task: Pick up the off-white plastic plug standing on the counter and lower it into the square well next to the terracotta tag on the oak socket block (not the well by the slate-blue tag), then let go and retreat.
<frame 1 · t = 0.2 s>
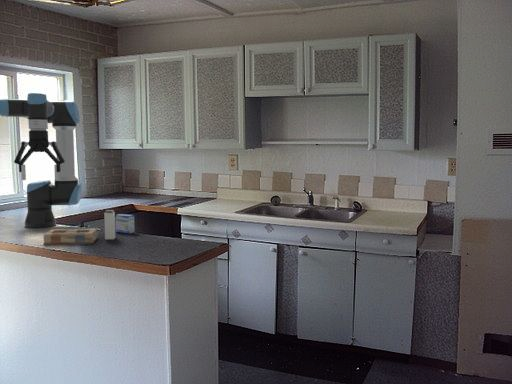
hand: (40, 180, 226), 28 cm above the table, fingers open, 13 cm apart
medicine box: (125, 232, 257), on the table
plug: (110, 238, 241), on the table
socket block: (71, 241, 234), on the table
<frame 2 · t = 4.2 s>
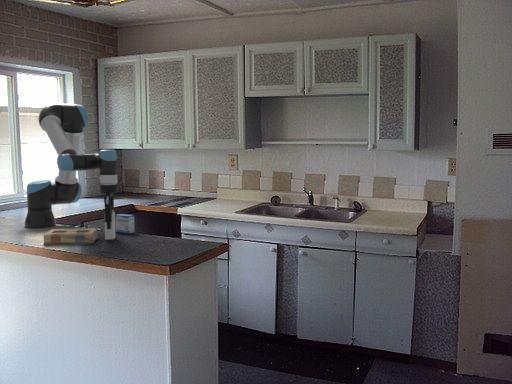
hand: (110, 234, 241), 2 cm above the table, fingers closed on plug, 4 cm apart
plug: (110, 238, 241), on the table, touching gripper
everything else where it was.
when the fingers open (5 cm above the table, at t = 9.4 s): plug drops 3 cm, resting on socket block.
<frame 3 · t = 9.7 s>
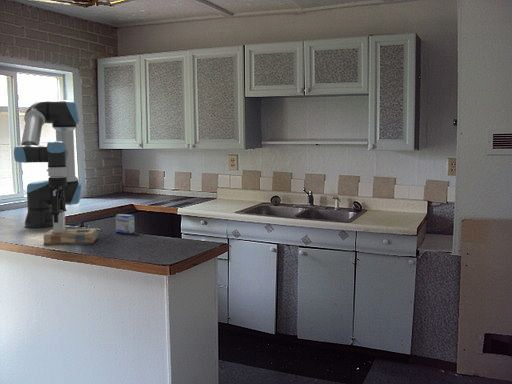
hand: (59, 228, 233), 6 cm above the table, fingers open, 8 cm apart
plug: (59, 239, 234), point 1 cm above the table, touching socket block
everything else where it was.
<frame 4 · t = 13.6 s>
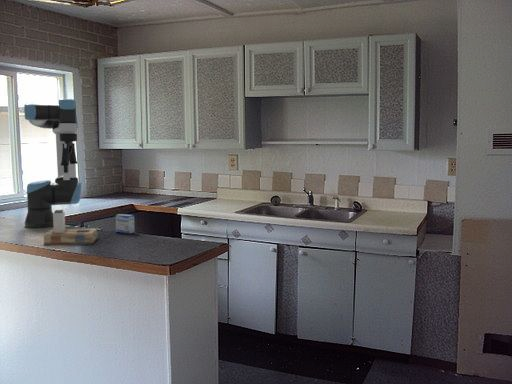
hand: (69, 178, 246), 27 cm above the table, fingers open, 13 cm apart
nothing on the table moved.
at the end: plug 0.1 cm from the target spot on the socket block, point 1.0 cm above the socket block's base; plug tilted 0°; the gripper is holding nothing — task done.
